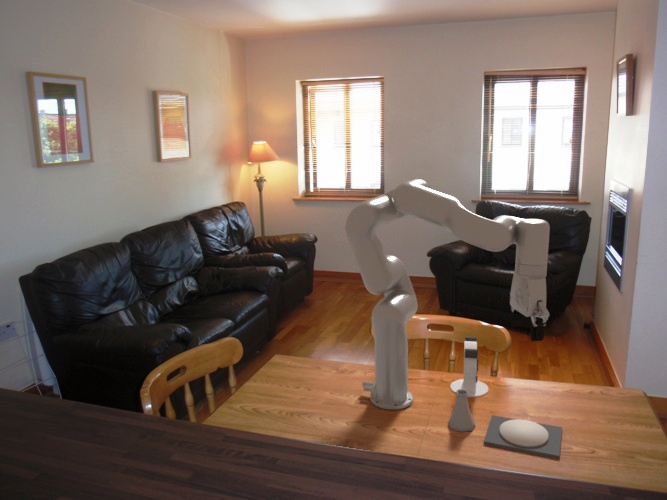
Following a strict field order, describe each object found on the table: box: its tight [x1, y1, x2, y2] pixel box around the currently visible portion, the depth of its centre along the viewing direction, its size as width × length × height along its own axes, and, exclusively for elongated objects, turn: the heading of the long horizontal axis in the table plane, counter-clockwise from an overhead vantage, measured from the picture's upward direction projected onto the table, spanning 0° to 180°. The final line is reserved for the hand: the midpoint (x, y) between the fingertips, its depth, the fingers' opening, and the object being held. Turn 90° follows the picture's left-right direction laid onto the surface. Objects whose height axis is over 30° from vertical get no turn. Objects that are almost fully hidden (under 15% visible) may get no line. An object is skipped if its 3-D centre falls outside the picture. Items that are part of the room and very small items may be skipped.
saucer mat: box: [483, 414, 563, 460], centre depth 149 cm, size 18×14×2 cm
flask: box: [447, 389, 476, 433], centre depth 154 cm, size 7×7×10 cm
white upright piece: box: [449, 336, 489, 398], centre depth 174 cm, size 12×11×15 cm
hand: (526, 333), depth 148 cm, fingers open, 9 cm apart
